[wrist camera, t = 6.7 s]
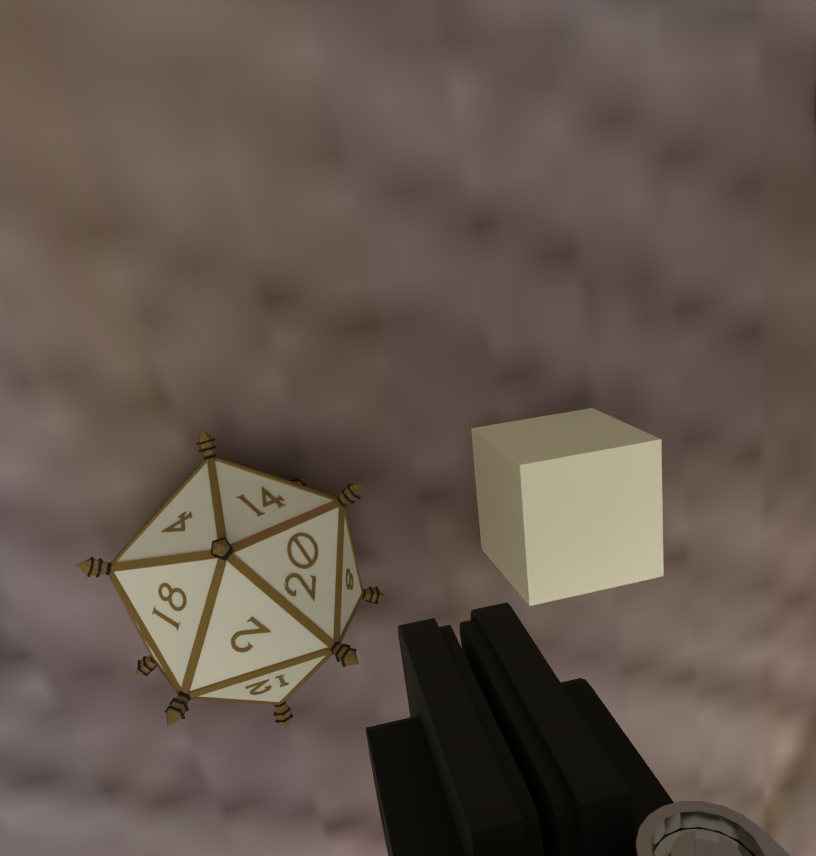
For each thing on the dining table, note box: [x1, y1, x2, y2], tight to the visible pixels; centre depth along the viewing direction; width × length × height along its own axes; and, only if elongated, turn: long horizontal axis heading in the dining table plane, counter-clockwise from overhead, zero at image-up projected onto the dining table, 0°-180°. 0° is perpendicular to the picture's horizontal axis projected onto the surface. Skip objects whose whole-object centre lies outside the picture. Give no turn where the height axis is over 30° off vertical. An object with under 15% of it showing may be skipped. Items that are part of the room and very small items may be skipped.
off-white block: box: [471, 408, 663, 606], centre depth 28 cm, size 5×5×5 cm
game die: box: [76, 429, 386, 729], centre depth 24 cm, size 9×8×10 cm
